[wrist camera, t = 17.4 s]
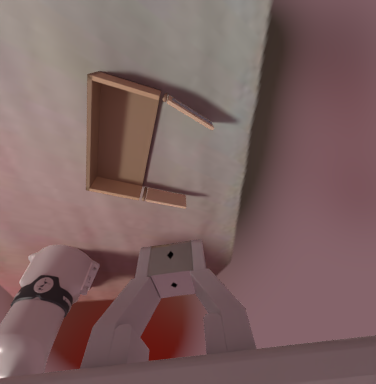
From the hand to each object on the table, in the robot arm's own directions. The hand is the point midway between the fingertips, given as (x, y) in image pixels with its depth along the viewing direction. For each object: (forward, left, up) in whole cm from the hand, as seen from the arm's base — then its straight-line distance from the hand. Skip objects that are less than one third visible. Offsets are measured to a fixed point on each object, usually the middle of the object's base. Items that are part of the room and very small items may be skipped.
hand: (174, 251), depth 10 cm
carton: (-8, +8, -31) cm, 33 cm away
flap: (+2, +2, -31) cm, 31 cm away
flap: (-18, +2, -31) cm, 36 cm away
